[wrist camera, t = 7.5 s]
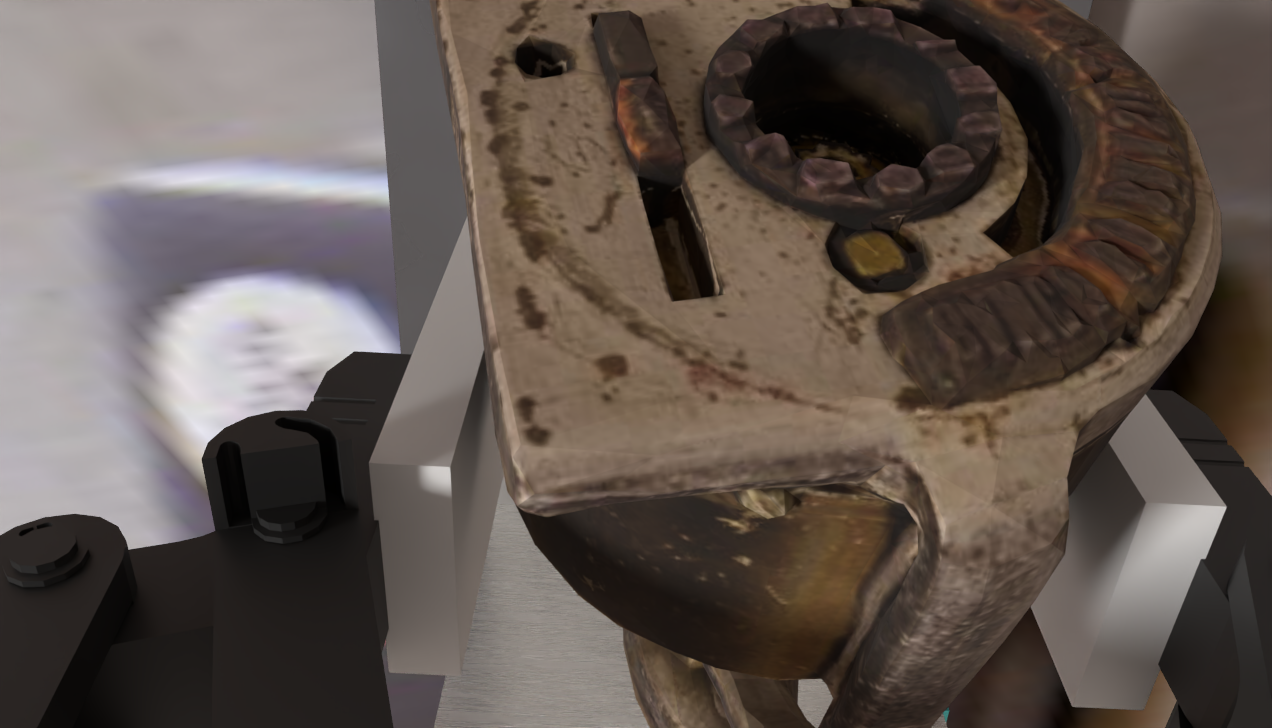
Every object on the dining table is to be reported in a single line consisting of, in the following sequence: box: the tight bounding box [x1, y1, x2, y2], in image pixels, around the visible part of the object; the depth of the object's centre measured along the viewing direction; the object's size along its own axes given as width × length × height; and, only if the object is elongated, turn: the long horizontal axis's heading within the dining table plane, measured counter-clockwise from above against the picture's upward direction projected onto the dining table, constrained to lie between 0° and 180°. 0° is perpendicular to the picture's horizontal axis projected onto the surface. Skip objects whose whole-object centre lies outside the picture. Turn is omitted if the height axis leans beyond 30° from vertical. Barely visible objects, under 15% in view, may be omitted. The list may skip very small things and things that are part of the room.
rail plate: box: [374, 0, 1093, 728], centre depth 20 cm, size 28×14×9 cm, turn 177°
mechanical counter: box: [429, 0, 1222, 728], centre depth 13 cm, size 7×13×10 cm, turn 16°
